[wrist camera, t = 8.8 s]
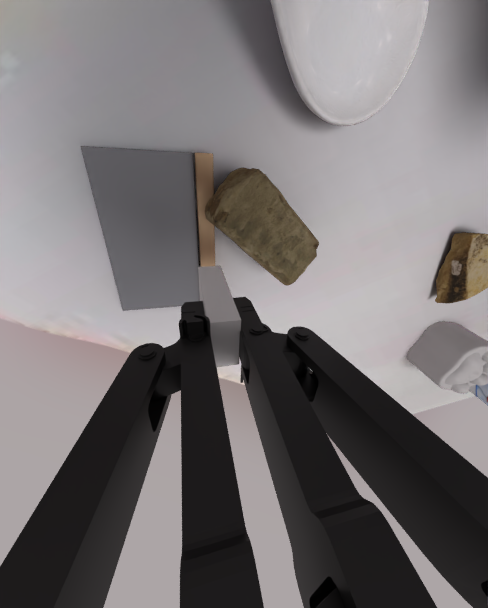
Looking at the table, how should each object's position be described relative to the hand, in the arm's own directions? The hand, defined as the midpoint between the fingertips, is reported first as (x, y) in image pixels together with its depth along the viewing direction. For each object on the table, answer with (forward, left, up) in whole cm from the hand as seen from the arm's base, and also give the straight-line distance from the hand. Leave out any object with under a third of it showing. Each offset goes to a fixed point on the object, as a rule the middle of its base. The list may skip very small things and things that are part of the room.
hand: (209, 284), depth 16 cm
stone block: (0, +8, -12) cm, 15 cm away
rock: (0, +37, -13) cm, 39 cm away
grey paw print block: (+22, +46, -12) cm, 53 cm away
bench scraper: (0, -5, -11) cm, 12 cm away
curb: (0, +1, -11) cm, 11 cm away
